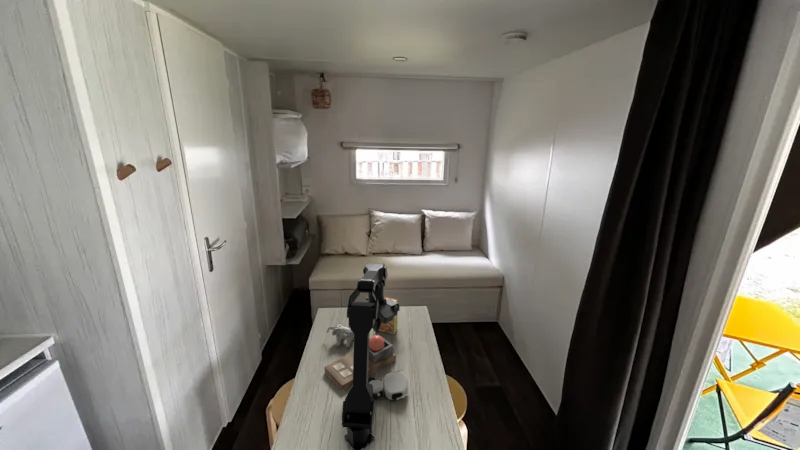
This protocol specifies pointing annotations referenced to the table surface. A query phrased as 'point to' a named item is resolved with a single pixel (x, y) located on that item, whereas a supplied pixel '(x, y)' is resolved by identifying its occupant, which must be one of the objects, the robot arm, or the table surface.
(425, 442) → the table surface
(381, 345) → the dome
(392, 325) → the candy box
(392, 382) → the robot toy
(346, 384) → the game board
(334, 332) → the elephant statuette
